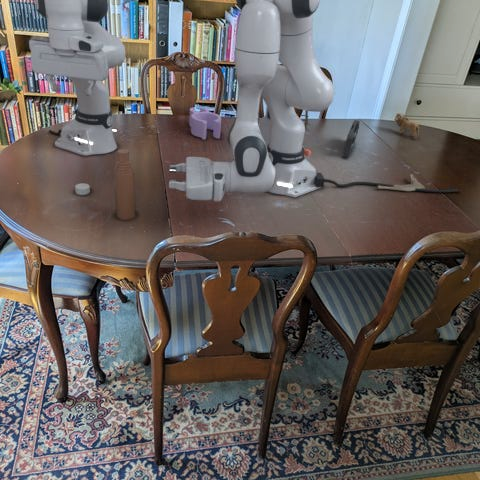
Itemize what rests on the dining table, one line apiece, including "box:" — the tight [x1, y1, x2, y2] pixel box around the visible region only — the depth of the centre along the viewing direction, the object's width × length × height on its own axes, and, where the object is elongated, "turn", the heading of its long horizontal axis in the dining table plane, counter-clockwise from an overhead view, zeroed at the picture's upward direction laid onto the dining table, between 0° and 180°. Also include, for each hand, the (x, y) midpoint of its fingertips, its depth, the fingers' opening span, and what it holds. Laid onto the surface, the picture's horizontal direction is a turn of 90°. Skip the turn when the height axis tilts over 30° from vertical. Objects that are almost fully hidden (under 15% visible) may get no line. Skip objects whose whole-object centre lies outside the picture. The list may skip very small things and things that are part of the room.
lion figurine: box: [394, 112, 422, 140], centre depth 218 cm, size 15×5×9 cm, turn 50°
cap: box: [74, 182, 91, 196], centre depth 145 cm, size 4×4×2 cm
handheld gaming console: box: [342, 119, 361, 159], centre depth 194 cm, size 23×3×10 cm, turn 161°
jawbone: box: [376, 173, 426, 193], centre depth 169 cm, size 9×20×2 cm, turn 126°
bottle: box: [113, 148, 137, 221], centre depth 131 cm, size 6×6×20 cm
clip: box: [188, 106, 222, 140], centre depth 199 cm, size 20×12×7 cm, turn 23°
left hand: (72, 93), depth 129 cm, fingers open, 8 cm apart
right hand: (169, 176), depth 131 cm, fingers open, 8 cm apart
